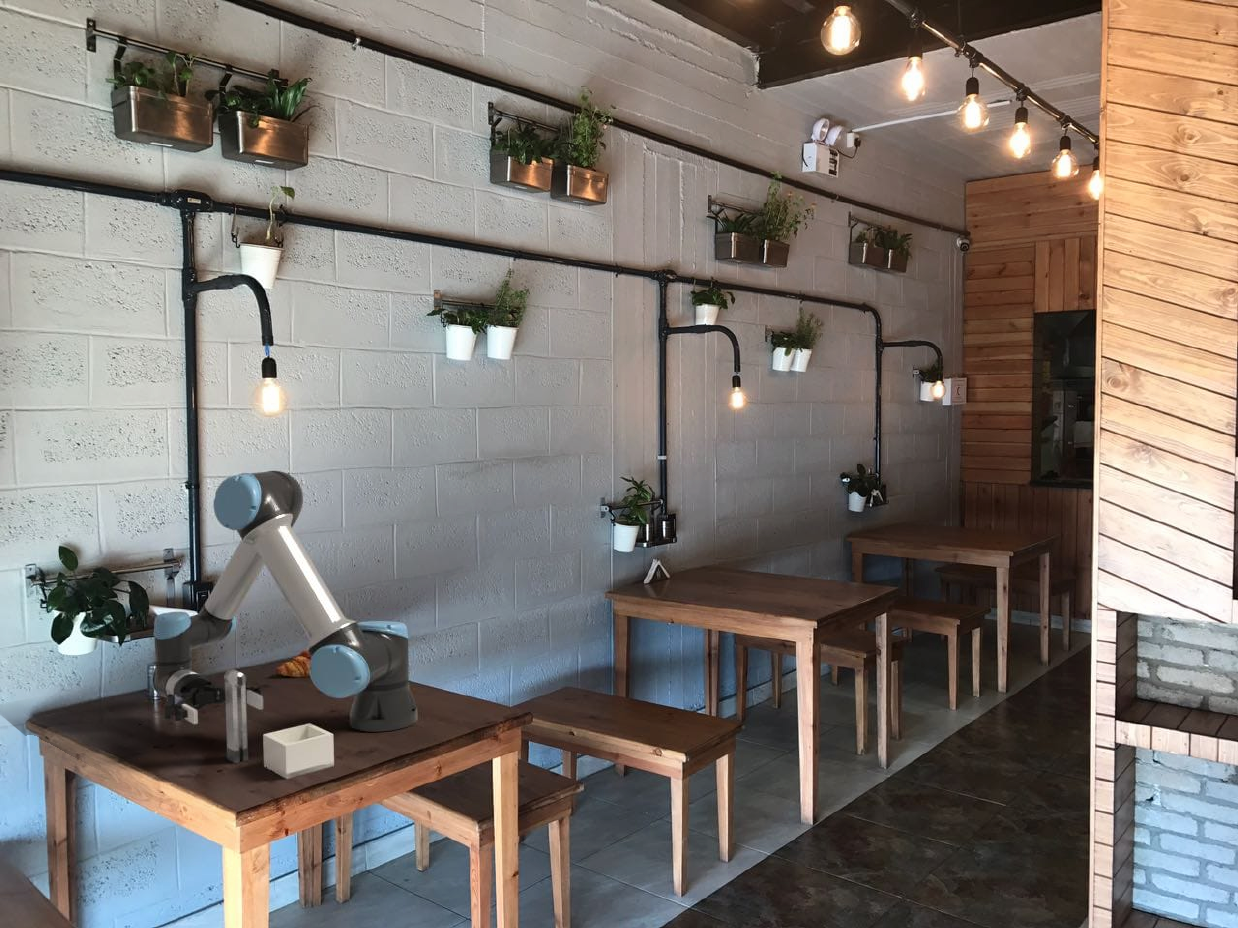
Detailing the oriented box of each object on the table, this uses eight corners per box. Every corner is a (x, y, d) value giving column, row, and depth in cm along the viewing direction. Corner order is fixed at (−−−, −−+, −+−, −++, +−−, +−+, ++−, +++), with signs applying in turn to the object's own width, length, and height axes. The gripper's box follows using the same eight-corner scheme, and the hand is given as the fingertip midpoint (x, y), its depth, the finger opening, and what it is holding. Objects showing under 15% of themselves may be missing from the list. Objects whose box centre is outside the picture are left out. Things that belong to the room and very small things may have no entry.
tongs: (240, 755, 207) (238, 668, 206) (251, 760, 204) (248, 672, 203) (226, 758, 205) (223, 670, 204) (236, 764, 202) (233, 675, 201)
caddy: (310, 753, 207) (309, 723, 207) (334, 765, 200) (333, 733, 200) (264, 766, 200) (263, 734, 200) (286, 778, 193) (285, 745, 193)
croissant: (349, 676, 282) (344, 649, 284) (361, 666, 274) (356, 638, 277) (273, 688, 269) (269, 659, 272) (284, 677, 262) (279, 648, 264)
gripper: (246, 695, 230) (287, 714, 214) (131, 719, 212) (167, 742, 197) (244, 662, 229) (286, 680, 214) (129, 684, 212) (165, 704, 197)
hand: (229, 709), depth 205 cm, fingers open, 13 cm apart
